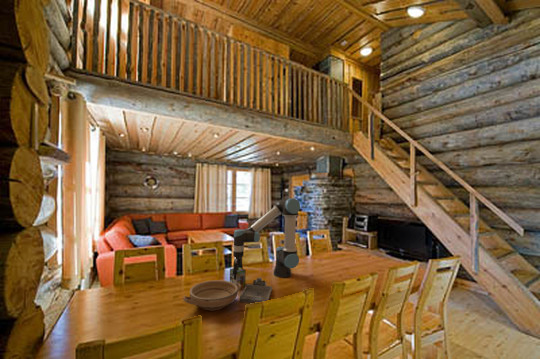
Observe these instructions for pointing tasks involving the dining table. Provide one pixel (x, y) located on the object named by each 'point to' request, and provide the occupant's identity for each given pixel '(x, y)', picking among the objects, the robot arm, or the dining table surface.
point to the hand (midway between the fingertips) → (237, 280)
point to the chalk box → (239, 276)
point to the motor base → (256, 292)
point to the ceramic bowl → (213, 294)
